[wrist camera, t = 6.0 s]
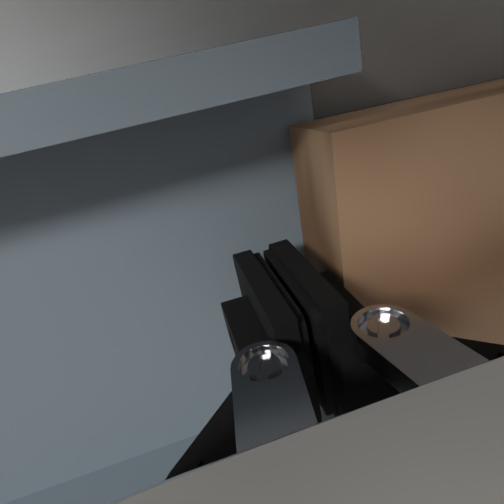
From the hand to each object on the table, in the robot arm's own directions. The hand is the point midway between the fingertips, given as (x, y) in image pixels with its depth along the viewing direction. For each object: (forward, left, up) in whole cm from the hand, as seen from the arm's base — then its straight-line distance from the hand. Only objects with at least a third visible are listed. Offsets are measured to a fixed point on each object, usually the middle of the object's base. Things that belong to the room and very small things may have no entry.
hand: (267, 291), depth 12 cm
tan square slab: (0, +7, -1) cm, 7 cm away
